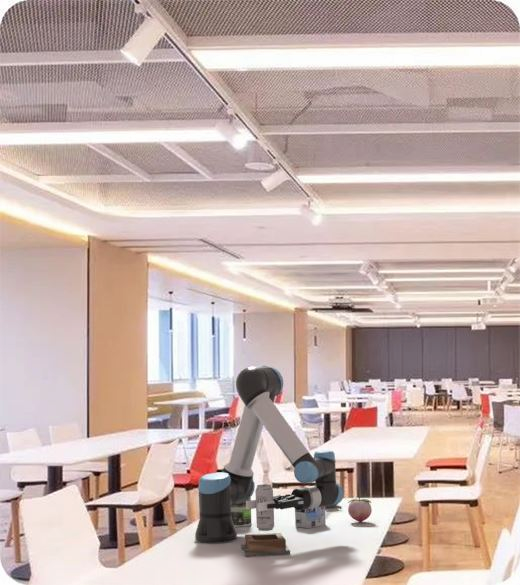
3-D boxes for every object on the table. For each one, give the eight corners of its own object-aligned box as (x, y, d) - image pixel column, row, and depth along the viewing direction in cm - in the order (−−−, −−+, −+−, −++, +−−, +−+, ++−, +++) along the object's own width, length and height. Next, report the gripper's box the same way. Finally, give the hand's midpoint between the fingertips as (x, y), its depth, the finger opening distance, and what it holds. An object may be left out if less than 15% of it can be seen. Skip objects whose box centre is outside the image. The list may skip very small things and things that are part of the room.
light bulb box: (306, 528, 378) (305, 500, 378) (294, 526, 383) (293, 498, 383) (326, 524, 385) (325, 496, 385) (314, 523, 390) (313, 495, 390)
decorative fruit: (372, 520, 392) (371, 494, 392) (372, 524, 384) (371, 497, 384) (348, 520, 393) (347, 495, 393) (348, 524, 384) (347, 498, 385)
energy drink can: (254, 531, 337) (252, 486, 338) (260, 527, 342) (258, 484, 343) (271, 531, 335) (269, 486, 336) (276, 528, 340) (275, 484, 341)
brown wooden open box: (241, 547, 345) (240, 534, 345) (283, 545, 347) (283, 532, 347) (245, 556, 330) (245, 542, 330) (290, 554, 332) (289, 540, 332)
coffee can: (257, 523, 391) (256, 487, 392) (240, 528, 383) (239, 491, 384) (236, 521, 398) (235, 486, 398) (220, 525, 389) (219, 489, 390)
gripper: (323, 511, 342) (269, 520, 328) (289, 506, 357) (236, 514, 343) (322, 489, 342) (269, 497, 329) (288, 485, 358) (235, 492, 344)
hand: (252, 506), depth 336 cm, fingers closed on energy drink can, 6 cm apart
